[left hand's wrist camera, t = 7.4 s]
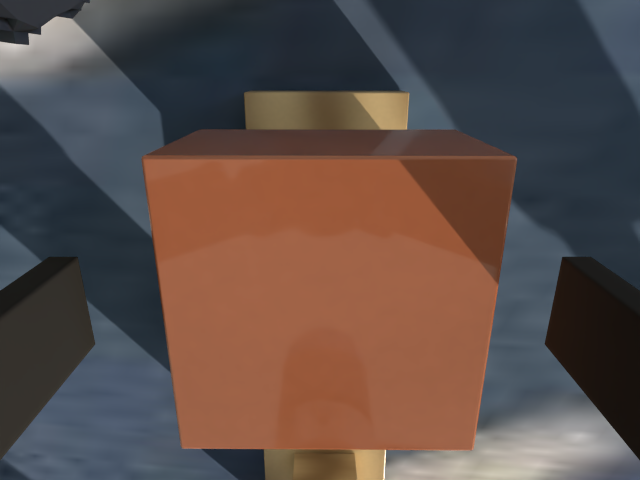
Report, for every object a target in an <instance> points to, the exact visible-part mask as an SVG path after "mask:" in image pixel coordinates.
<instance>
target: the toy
mask: <svg viewBox="0 0 640 480" xmlns="http://www.w3.org/2000/svg"><path fill="white" fill-rule="evenodd" d="M84 2H86V3H90V0H0V41H1V42H7V43H14V44H25V45H29V37H28V33H32V34H39V35H41V26H43V25H44V24H46V23H47V22H48V21H50V20H51V19H52V18H54V17H56V16H59V17H65V18H73V17H74V16H75V15H76V14H77V13H78V12H79V11H80V10H81V8H82V6H83V4H84Z"/></svg>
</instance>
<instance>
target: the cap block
mask: <svg viewBox="0 0 640 480" xmlns="http://www.w3.org/2000/svg"><path fill="white" fill-rule="evenodd" d="M516 164H517V157H515V156H513V155H511V154H509V153H506V152H504V151H502V150H500V149H497V148H495V147H493V146H491V145H488V144H486V143H484V142H482V141H480V140H477V139H475V138H473V137H471V136H468V135H466V134H464V133H462V132H459V131H457V130H334V129H200V130H198V131H195V132H193V133H191V134H189V135H187V136H185V137H183V138H181V139H178V140H176V141H174V142H172V143H170V144H168V145H166V146H163V147H161V148H159V149H157V150H155V151H153V152H151V153H149V154H146V155H144V156H142V167H143V174H144V181H145V188H146V196H147V203H148V210H149V218H150V225H151V232H152V240H153V247H154V254H155V261H156V269H157V276H158V283H159V291H160V298H161V305H162V312H163V320H164V327H165V334H166V342H167V349H168V356H169V363H170V371H171V378H172V385H173V393H174V400H175V407H176V414H177V422H178V429H179V436H180V444H181V448H191V449H335V450H473V448H474V442H475V435H476V429H477V422H478V415H479V409H480V402H481V396H482V389H483V382H484V376H485V369H486V363H487V356H488V349H489V343H490V336H491V329H492V323H493V316H494V310H495V303H496V296H497V290H498V283H499V277H500V270H501V263H502V257H503V250H504V244H505V237H506V230H507V224H508V217H509V211H510V204H511V197H512V191H513V184H514V178H515V171H516Z"/></svg>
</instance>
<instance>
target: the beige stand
mask: <svg viewBox="0 0 640 480" xmlns="http://www.w3.org/2000/svg"><path fill="white" fill-rule="evenodd" d="M408 102H409V93H408V92H405V91H248V92H245V93H244V103H245V121H246V129H334V130H407V118H408ZM385 456H386V450H335V449H264V462H265V480H384V471H385Z"/></svg>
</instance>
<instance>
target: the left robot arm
mask: <svg viewBox="0 0 640 480" xmlns="http://www.w3.org/2000/svg"><path fill="white" fill-rule="evenodd" d="M94 345H95V340H94V336H93V331H92V326H91V321H90V316H89V311H88V306H87V301H86V296H85V291H84V286H83V281H82V276H81V272H80V267H79V262H78V257H48V258H47V259H45V260H44V261H43V262H41V263H40V264H38V265H37V266H35V267H34V268H32V269H31V270H30V271H28V272H27V273H25V274H24V275H22V276H21V277H19V278H18V279H17V280H15V281H14V282H12V283H11V284H9V285H8V286H6V287H5V288H4V289H2V290H1V291H0V460H1V459H2V457H3V456H4V455H5V454H6V452H7V451H8V450H9V449H10V448H11V446H12V445H13V444H14V443H15V441H16V440H17V439H18V438H19V437H20V435H21V434H22V433H23V432H24V430H25V429H26V428H27V427H28V426H29V424H30V423H31V422H32V421H33V420H34V418H35V417H36V416H37V415H38V413H39V412H40V411H41V410H42V409H43V407H44V406H45V405H46V404H47V402H48V401H49V400H50V399H51V398H52V396H53V395H54V394H55V393H56V391H57V390H58V389H59V388H60V387H61V385H62V384H63V383H64V382H65V380H66V379H67V378H68V377H69V376H70V374H71V373H72V372H73V371H74V369H75V368H76V367H77V366H78V365H79V363H80V362H81V361H82V360H83V358H84V357H85V356H86V355H87V354H88V352H89V351H90V350H91V349H92V347H93V346H94ZM545 345H546V346H547V347H548V349H549V350H550V351H551V352H552V354H553V355H554V356H555V357H556V358H557V360H558V361H559V362H560V363H561V365H562V366H563V367H564V368H565V369H566V371H567V372H568V373H569V374H570V376H571V377H572V378H573V379H574V380H575V382H576V383H577V384H578V385H579V387H580V388H581V389H582V390H583V391H584V393H585V394H586V395H587V396H588V398H589V399H590V400H591V401H592V402H593V404H594V405H595V406H596V407H597V409H598V410H599V411H600V412H601V413H602V415H603V416H604V417H605V418H606V420H607V421H608V422H609V423H610V424H611V426H612V427H613V428H614V429H615V430H616V432H617V433H618V434H619V435H620V437H621V438H622V439H623V440H624V441H625V443H626V444H627V445H628V446H629V448H630V449H631V450H632V451H633V452H634V454H635V455H636V456H637V457H638V459H639V460H640V291H639V290H638V289H636V288H635V287H634V286H632V285H631V284H629V283H628V282H626V281H625V280H623V279H622V278H621V277H619V276H618V275H616V274H615V273H613V272H612V271H610V270H609V269H608V268H606V267H605V266H603V265H602V264H600V263H599V262H597V261H596V260H595V259H593V258H592V257H562V262H561V267H560V272H559V276H558V281H557V286H556V291H555V296H554V301H553V306H552V311H551V316H550V321H549V326H548V331H547V336H546V340H545Z"/></svg>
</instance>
